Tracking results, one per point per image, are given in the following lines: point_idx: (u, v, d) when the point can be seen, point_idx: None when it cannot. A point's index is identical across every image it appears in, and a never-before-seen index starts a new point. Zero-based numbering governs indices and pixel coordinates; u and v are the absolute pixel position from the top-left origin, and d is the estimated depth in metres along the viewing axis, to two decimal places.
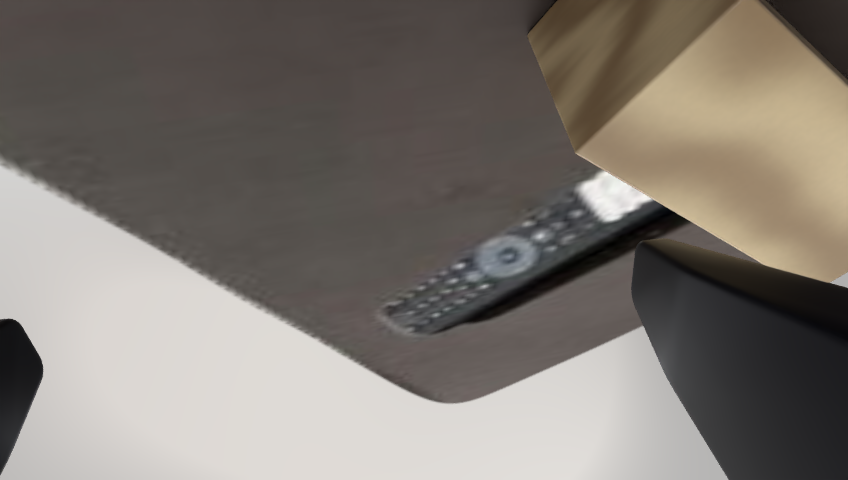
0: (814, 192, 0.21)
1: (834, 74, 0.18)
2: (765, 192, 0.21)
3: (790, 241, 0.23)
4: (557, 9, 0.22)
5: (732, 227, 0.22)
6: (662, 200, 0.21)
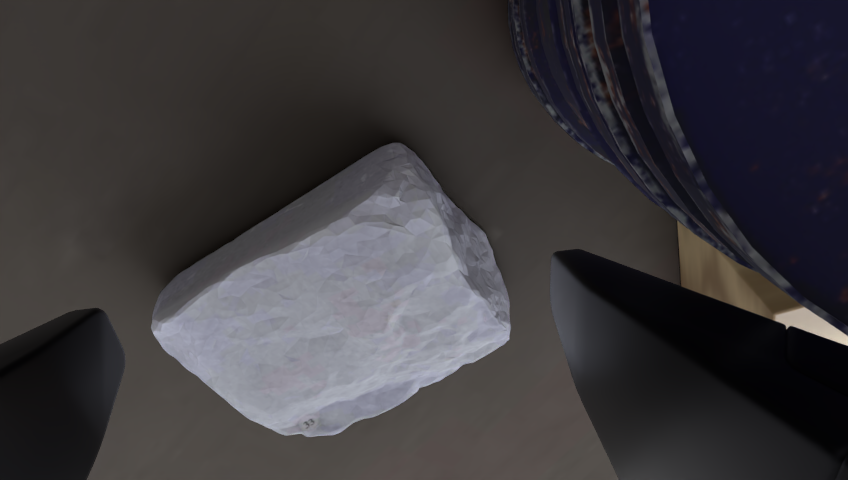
0: None
1: None
2: None
3: None
4: None
5: None
6: None
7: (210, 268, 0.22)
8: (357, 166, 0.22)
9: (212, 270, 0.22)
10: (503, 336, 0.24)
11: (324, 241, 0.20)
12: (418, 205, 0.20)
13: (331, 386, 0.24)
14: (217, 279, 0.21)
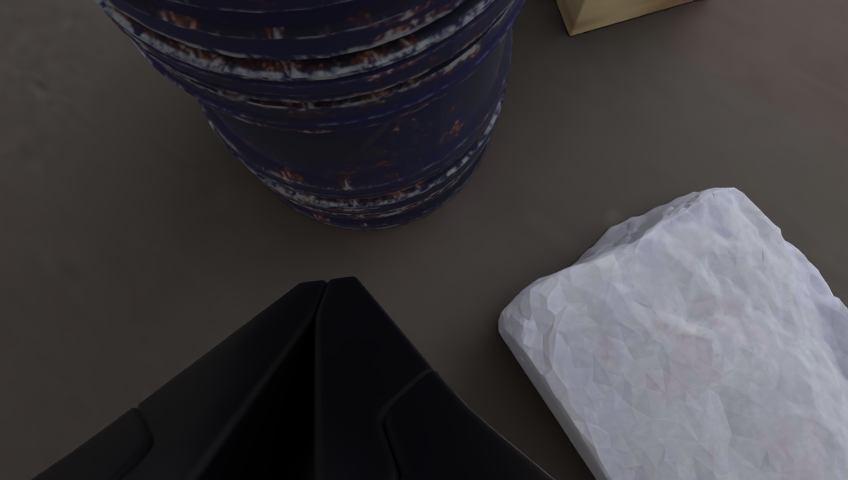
0: None
1: None
2: None
3: None
4: None
5: None
6: None
7: None
8: (521, 365, 0.21)
9: None
10: (724, 195, 0.20)
11: (576, 404, 0.18)
12: (534, 301, 0.19)
13: (815, 411, 0.18)
14: None
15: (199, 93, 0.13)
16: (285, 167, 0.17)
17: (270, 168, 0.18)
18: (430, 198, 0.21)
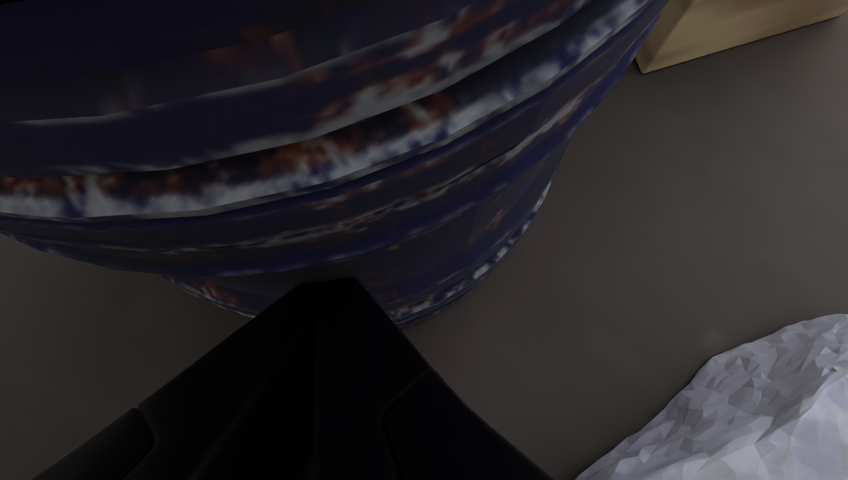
0: None
1: None
2: None
3: None
4: (802, 20, 0.17)
5: None
6: None
7: None
8: None
9: None
10: None
11: None
12: None
13: None
14: None
15: None
16: (207, 281, 0.10)
17: (184, 281, 0.11)
18: None
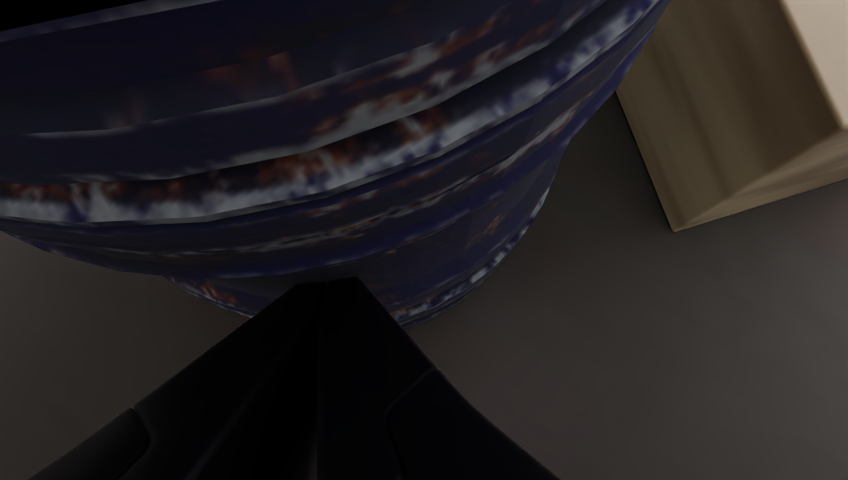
0: None
1: None
2: None
3: None
4: (842, 178, 0.16)
5: None
6: None
7: None
8: None
9: None
10: None
11: None
12: None
13: None
14: None
15: None
16: (207, 282, 0.11)
17: (184, 281, 0.11)
18: None
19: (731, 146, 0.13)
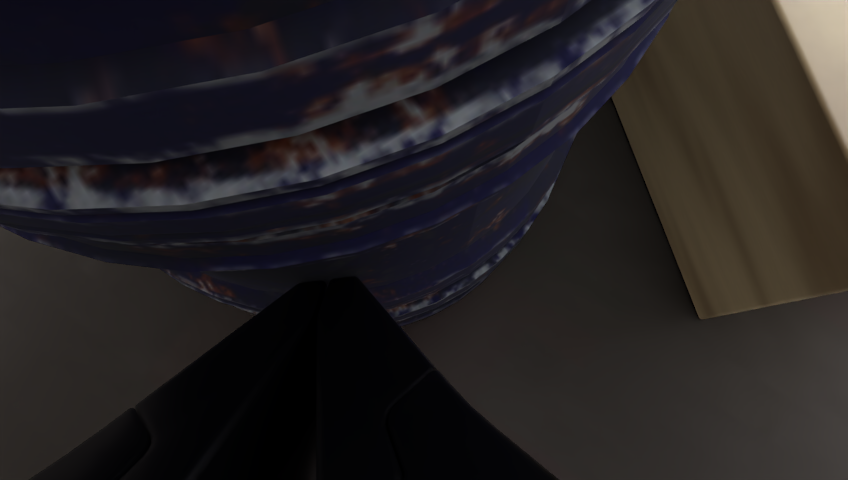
0: None
1: (781, 12, 0.10)
2: None
3: None
4: None
5: None
6: None
7: None
8: None
9: None
10: None
11: None
12: None
13: None
14: None
15: None
16: (203, 274, 0.10)
17: (180, 274, 0.11)
18: None
19: (770, 258, 0.12)
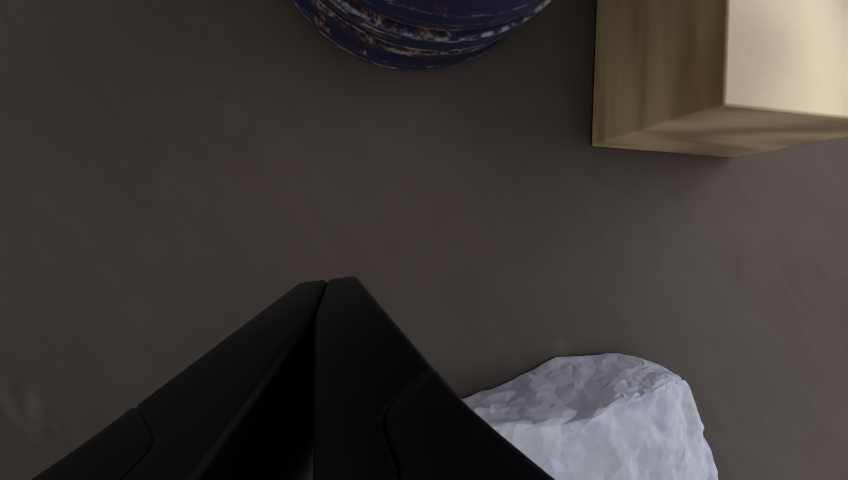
0: None
1: None
2: None
3: None
4: (708, 153, 0.23)
5: None
6: None
7: None
8: None
9: None
10: (674, 388, 0.20)
11: None
12: None
13: None
14: None
15: None
16: None
17: None
18: (446, 54, 0.20)
19: (657, 96, 0.19)
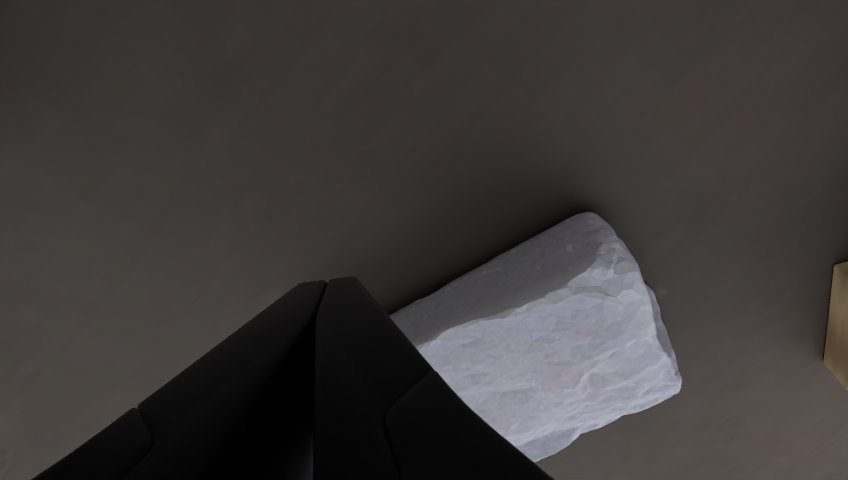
0: None
1: None
2: None
3: None
4: (832, 347, 0.28)
5: None
6: None
7: (412, 325, 0.24)
8: (555, 234, 0.23)
9: (416, 327, 0.24)
10: (675, 391, 0.25)
11: (541, 309, 0.21)
12: (628, 277, 0.21)
13: (511, 434, 0.26)
14: (427, 338, 0.23)
15: None
16: None
17: None
18: None
19: None
